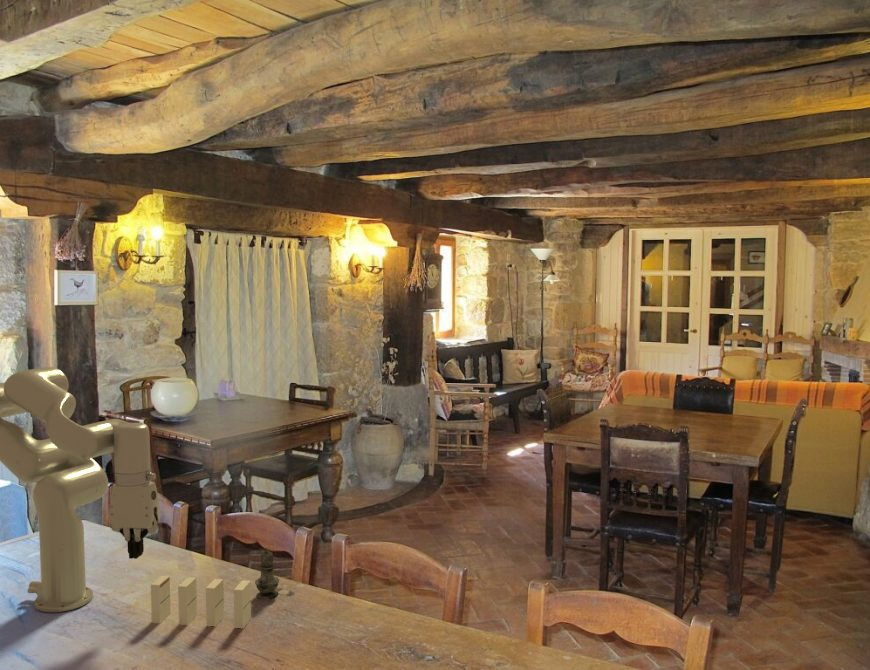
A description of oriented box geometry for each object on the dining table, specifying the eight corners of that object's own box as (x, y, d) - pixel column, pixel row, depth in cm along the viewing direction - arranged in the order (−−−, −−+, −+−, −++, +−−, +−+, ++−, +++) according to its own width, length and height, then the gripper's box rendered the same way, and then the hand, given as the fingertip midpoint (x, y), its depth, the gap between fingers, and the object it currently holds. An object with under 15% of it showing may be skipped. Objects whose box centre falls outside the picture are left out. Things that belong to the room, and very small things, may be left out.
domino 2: (178, 624, 167) (178, 586, 167) (188, 614, 172) (188, 577, 172) (187, 625, 167) (186, 586, 166) (197, 615, 172) (196, 577, 171)
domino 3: (206, 626, 167) (205, 587, 166) (215, 616, 172) (214, 578, 171) (215, 627, 166) (214, 588, 166) (224, 616, 171) (223, 579, 171)
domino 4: (234, 628, 166) (233, 589, 165) (242, 618, 171) (242, 580, 170) (243, 629, 166) (242, 590, 165) (251, 618, 171) (250, 580, 170)
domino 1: (151, 622, 168) (150, 584, 167) (162, 612, 173) (161, 575, 172) (160, 623, 168) (159, 585, 167) (170, 613, 173) (169, 576, 172)
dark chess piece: (273, 601, 180) (273, 553, 179) (251, 599, 181) (250, 551, 180) (283, 591, 185) (282, 544, 184) (261, 589, 187) (260, 542, 186)
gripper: (172, 474, 171) (174, 551, 173) (111, 472, 173) (114, 549, 174) (156, 483, 164) (159, 564, 165) (92, 481, 166) (95, 561, 167)
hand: (135, 556), depth 170 cm, fingers closed
